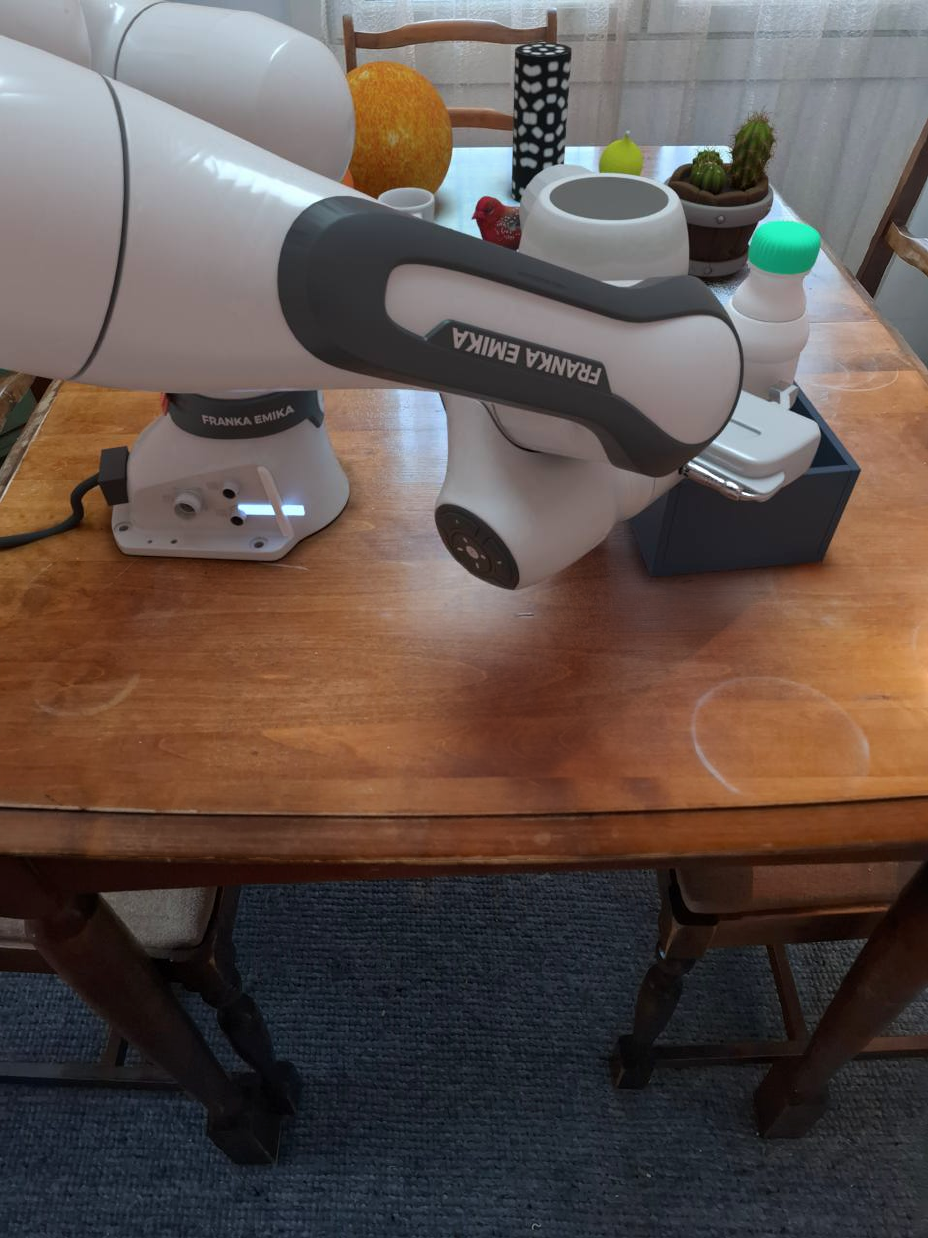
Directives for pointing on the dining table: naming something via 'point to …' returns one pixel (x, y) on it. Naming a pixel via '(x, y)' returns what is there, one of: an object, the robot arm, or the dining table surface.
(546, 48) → the white-spotted black cylinder
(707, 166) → the flowerpot
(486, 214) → the decorative bird figurine
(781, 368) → the water bottle
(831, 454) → the bin
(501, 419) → the robot arm
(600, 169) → the yellow-green rounded piece
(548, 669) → the dining table surface
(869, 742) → the dining table surface
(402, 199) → the cup
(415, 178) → the decorative sphere
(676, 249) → the planter
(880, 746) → the dining table surface
